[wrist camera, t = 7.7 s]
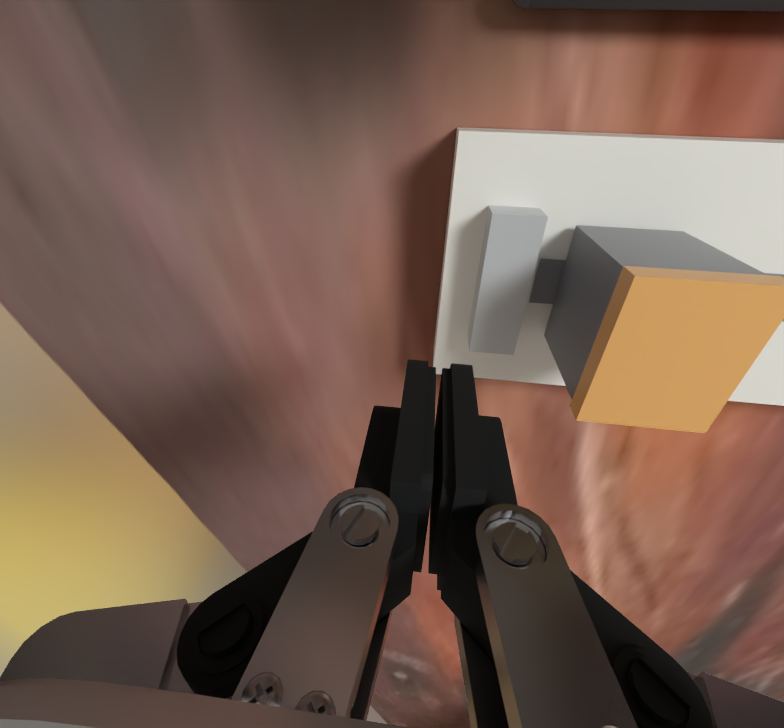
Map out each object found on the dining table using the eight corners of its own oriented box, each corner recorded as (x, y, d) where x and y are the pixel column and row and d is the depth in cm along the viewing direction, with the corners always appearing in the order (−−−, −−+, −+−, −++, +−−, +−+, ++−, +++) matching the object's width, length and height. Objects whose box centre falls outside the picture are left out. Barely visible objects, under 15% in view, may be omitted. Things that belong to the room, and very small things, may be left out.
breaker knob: (574, 222, 15) (635, 276, 10) (686, 228, 15) (804, 287, 10) (541, 336, 18) (576, 420, 13) (634, 344, 17) (705, 433, 13)
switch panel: (456, 127, 16) (460, 132, 13) (1151, 153, 14) (1400, 169, 11) (433, 344, 23) (431, 390, 19) (915, 385, 20) (1019, 446, 17)
